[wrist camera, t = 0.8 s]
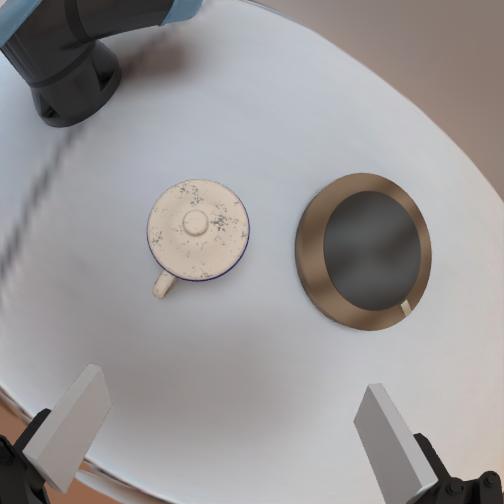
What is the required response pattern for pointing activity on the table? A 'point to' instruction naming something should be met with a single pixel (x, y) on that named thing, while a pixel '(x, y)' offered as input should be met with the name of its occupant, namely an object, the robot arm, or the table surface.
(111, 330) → the table surface
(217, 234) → the teacup with lid
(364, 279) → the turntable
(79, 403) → the robot arm
